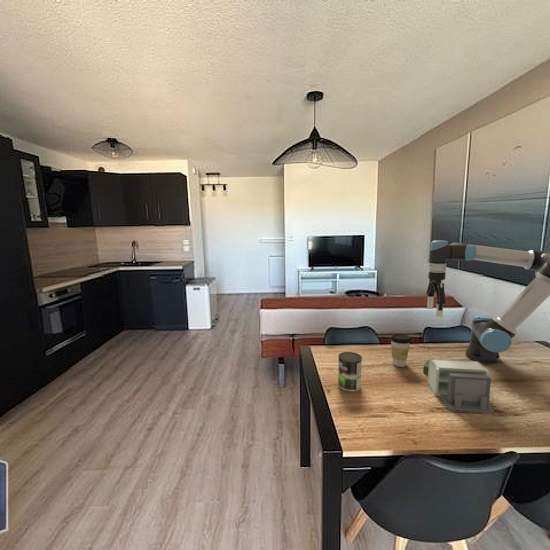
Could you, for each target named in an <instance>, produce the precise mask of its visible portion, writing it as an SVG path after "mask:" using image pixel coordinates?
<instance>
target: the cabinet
mask: <svg viewBox="0 0 550 550" xmlns="http://www.w3.org/2000/svg"><path fill="white" fill-rule="evenodd" d="M428 360H429V368H428V374H427V386H428V387H429V389H430V390H431V392H432V393H433V395H434V396H435V397H440V398H441V400H442V402H443V403H444V405H445V406H446V408H447V409H448V410H449V411H458V412H459V411H460V412H472V411H473V412H475V413H486V412H489V413H490V414H495V410H494V408H493V407H492V406H491V405H490V404H488V407H487V400H488V397H487V396H481V398H480V406H469V405H461V403H462V395H461V394H455V404H449V403H448V401H447V394H448V382H449V373H458V374H476V375H488V376H489V377H490V375H491V372H490V370H488V369H487V368H486V367H485V366H484V365H483V364H481V362H478V361H474V360H458V359H457V360H456V359H436V358H429V359H428ZM490 378H491V377H490ZM489 413H488V414H489Z"/></svg>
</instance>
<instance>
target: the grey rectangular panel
mask: <svg viewBox="0 0 550 550" xmlns="http://www.w3.org/2000/svg"><path fill="white" fill-rule="evenodd" d="M491 383H492V378H491V377H489V376H488V375H476V374H458V373H449V382H448V394H447V401H448V403H449V404H455V394H461V395H462V403H461V405H469V406H480V398H481V396H487V397H488V400H487V407H488V404H489V402H490V394H491V393H490V391H491ZM489 405H490V404H489Z"/></svg>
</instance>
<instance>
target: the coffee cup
mask: <svg viewBox="0 0 550 550" xmlns="http://www.w3.org/2000/svg"><path fill="white" fill-rule="evenodd" d="M389 340H390V343H391V344H390V347H391V356H392V364H393V365H394V366H396V367H406V364H407V360H408V358H409V357H408V356H409V350H410V344H411V341H412V340H411V337H410V336H409V335H408V334H404V333H393V334H391V336H390V338H389Z"/></svg>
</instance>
